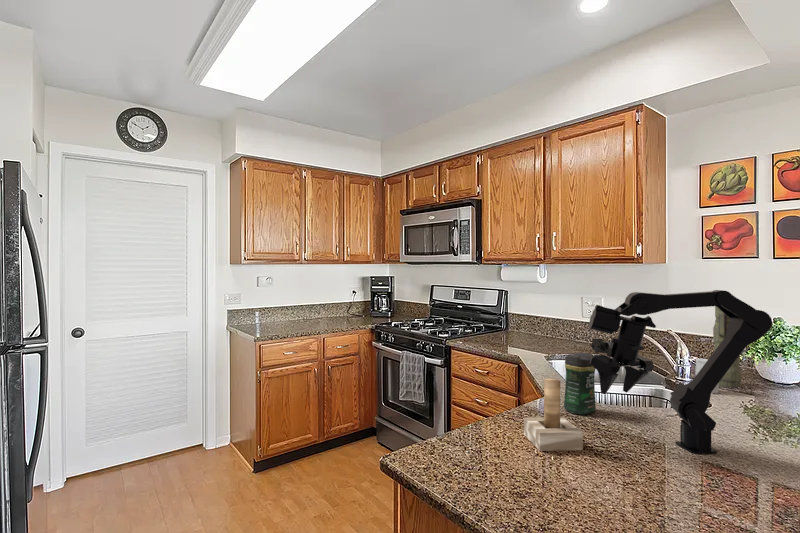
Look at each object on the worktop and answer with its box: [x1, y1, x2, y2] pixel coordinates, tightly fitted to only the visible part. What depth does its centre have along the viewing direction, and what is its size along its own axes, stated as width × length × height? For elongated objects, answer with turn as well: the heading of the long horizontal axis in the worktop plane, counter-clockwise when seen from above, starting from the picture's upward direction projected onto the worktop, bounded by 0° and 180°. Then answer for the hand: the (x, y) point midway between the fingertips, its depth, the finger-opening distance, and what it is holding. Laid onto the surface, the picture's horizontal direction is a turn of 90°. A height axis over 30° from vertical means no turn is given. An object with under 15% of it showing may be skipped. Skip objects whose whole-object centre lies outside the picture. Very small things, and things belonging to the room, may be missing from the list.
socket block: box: [523, 416, 584, 452], centre depth 112 cm, size 11×11×4 cm
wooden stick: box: [543, 378, 561, 429], centre depth 112 cm, size 4×4×16 cm
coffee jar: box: [563, 352, 596, 415], centre depth 137 cm, size 10×8×19 cm
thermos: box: [712, 306, 742, 389], centre depth 171 cm, size 9×12×35 cm
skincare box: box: [695, 358, 720, 395], centre depth 161 cm, size 6×4×12 cm
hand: (614, 392), depth 116 cm, fingers open, 9 cm apart
